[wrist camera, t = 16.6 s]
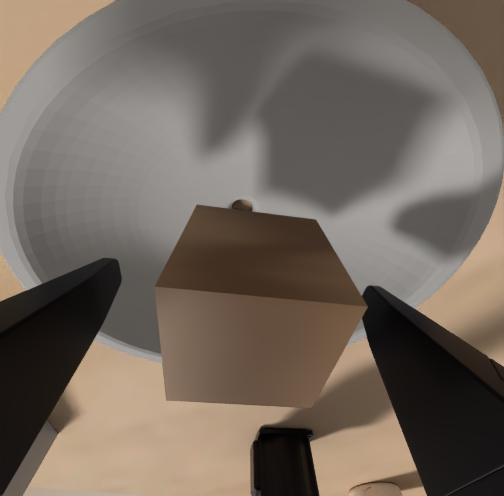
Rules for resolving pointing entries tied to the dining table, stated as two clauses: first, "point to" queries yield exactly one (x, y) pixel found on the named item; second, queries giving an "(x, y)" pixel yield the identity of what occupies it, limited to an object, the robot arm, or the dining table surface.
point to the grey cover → (32, 461)
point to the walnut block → (253, 309)
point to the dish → (248, 143)
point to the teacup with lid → (376, 490)
